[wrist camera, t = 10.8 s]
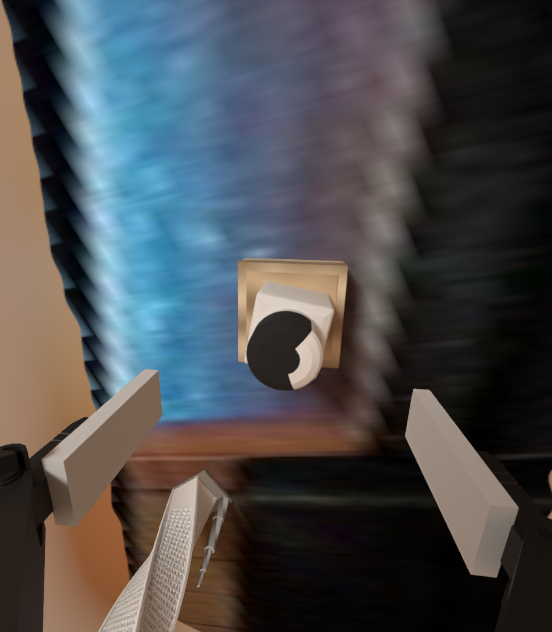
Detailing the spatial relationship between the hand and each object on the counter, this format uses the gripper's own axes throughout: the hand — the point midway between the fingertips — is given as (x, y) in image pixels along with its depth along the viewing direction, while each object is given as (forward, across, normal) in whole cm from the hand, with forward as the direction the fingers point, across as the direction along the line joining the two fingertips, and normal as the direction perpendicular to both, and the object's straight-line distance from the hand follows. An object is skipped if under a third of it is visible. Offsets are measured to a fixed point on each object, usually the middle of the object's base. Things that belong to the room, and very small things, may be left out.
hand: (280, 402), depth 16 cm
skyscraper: (+25, -14, -33) cm, 44 cm away
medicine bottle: (+20, 0, -1) cm, 20 cm away
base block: (+25, 0, -1) cm, 25 cm away
